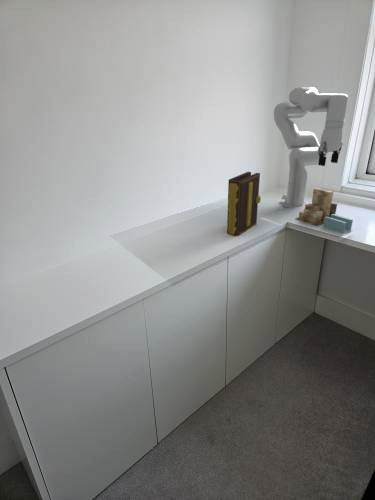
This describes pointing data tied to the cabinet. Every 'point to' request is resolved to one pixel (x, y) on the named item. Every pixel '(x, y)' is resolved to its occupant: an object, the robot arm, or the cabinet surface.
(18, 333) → the cabinet surface
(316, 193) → the light brown flat block
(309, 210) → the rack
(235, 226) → the book
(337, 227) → the stand
